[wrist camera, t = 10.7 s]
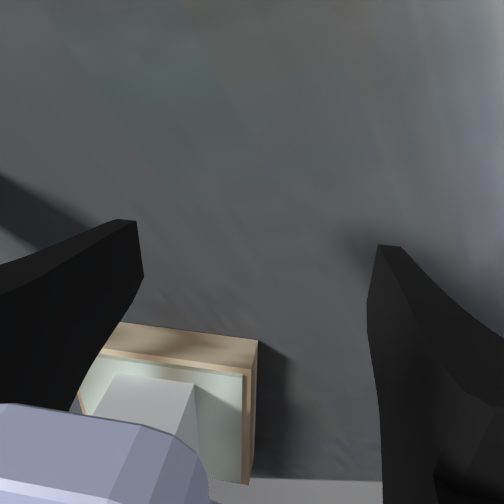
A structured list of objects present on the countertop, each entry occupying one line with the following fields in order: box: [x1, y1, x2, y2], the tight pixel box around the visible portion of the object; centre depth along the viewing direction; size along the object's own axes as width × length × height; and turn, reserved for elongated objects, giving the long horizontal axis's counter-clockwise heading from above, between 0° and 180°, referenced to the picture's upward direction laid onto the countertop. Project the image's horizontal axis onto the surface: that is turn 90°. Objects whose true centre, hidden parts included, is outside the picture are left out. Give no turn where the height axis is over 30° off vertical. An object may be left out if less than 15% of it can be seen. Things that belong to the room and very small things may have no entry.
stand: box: [77, 322, 258, 485], centre depth 30 cm, size 12×12×3 cm
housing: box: [92, 373, 200, 459], centre depth 26 cm, size 9×5×6 cm, turn 179°
